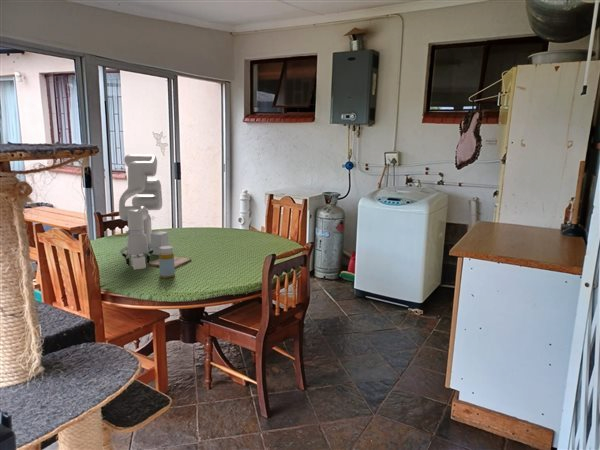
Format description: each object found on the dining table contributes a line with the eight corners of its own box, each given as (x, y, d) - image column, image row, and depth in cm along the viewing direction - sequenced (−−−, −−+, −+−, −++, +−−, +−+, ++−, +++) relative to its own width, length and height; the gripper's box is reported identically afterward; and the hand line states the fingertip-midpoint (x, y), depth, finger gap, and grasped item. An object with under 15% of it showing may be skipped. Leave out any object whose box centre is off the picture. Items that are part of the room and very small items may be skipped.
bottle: (161, 274, 210) (160, 245, 207) (176, 273, 211) (174, 245, 208) (158, 278, 204) (156, 249, 200) (173, 278, 204) (171, 249, 201)
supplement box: (169, 252, 248) (168, 231, 245) (161, 255, 241) (160, 234, 238) (159, 251, 250) (158, 230, 247) (151, 254, 243) (149, 233, 241)
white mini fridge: (133, 269, 216) (133, 257, 215) (131, 265, 222) (131, 254, 221) (145, 268, 219) (144, 256, 218) (143, 264, 225) (142, 252, 224)
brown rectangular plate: (148, 265, 223) (147, 256, 222) (167, 257, 238) (167, 248, 237) (173, 269, 218) (172, 259, 217) (191, 261, 233) (191, 252, 231)
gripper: (119, 235, 209) (121, 268, 213) (155, 232, 218) (156, 263, 221) (117, 232, 216) (119, 264, 219) (152, 229, 224) (154, 260, 228)
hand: (138, 264), depth 220 cm, fingers open, 9 cm apart
